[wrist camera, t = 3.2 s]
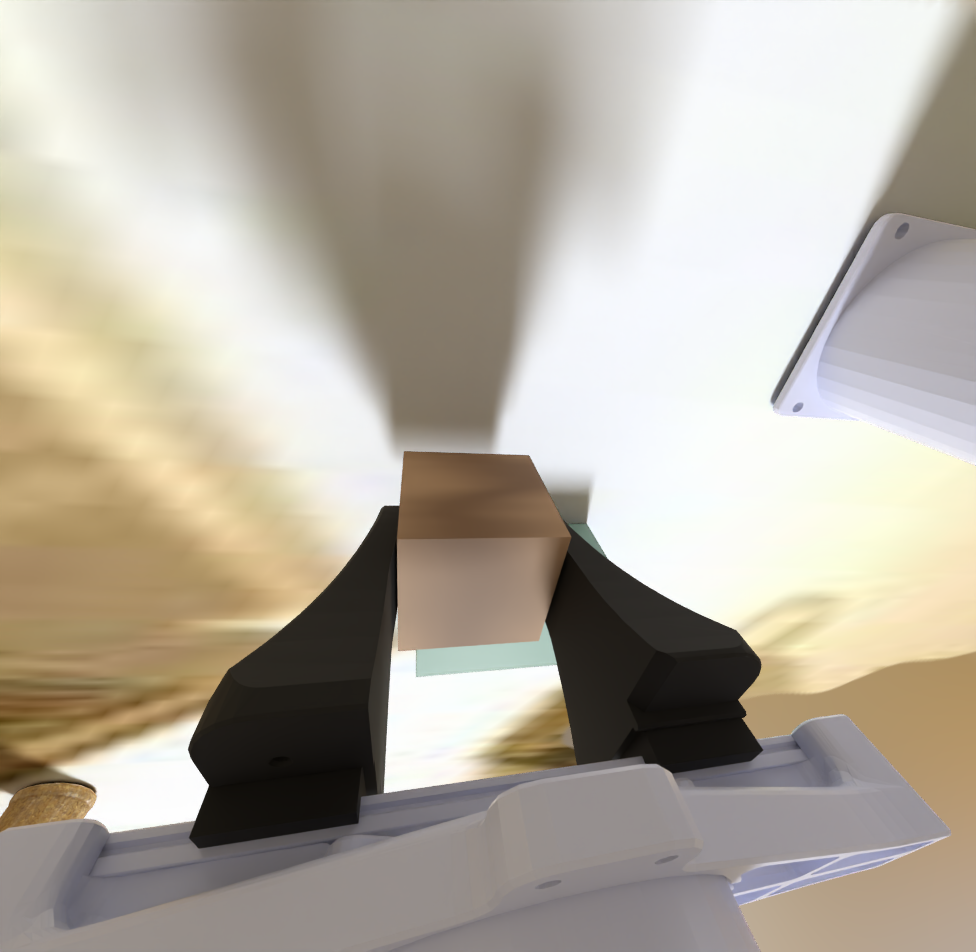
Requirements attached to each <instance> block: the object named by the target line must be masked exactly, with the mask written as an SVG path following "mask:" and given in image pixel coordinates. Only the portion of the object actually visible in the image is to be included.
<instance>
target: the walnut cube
mask: <svg viewBox="0 0 976 952" xmlns="http://www.w3.org/2000/svg"><path fill="white" fill-rule="evenodd" d="M570 540H571V535H570V533H569V531H568V529H567V528H566V526H565V524H564V522H563V520H562V518H561V516H560V514H559V512H558V510H557V508H556V506H555V504H554V502H553V501H552V499H551V497H550V495H549V493H548V491H547V489H546V487H545V485H544V483H543V481H542V479H541V477H540V475H539V474H538V472H537V470H536V468H535V466H534V464H533V462H532V460H531V458H530V456H529V455H502V454H472V453H441V452H411V451H404V458H403V470H402V483H401V495H400V508H399V520H398V533H397V583H398V651H407V650H421V649H435V648H449V647H463V646H477V645H491V644H505V643H519V642H532V641H539V639H540V636H541V632H542V629H543V626H544V623H545V620H546V616H547V613H548V610H549V607H550V604H551V601H552V597H553V594H554V591H555V588H556V585H557V581H558V578H559V575H560V572H561V569H562V566H563V562H564V559H565V556H566V553H567V550H568V546H569V543H570Z"/></svg>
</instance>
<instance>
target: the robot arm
mask: <svg viewBox="0 0 976 952" xmlns="http://www.w3.org/2000/svg"><path fill="white" fill-rule="evenodd" d="M896 230H897V231H896ZM773 411H774V412H775V413H776V414H778V415H781V416H788V417H804V418H821V419H837V420H853V421H864V422H866V423H869V424H871V425H874V426H876V427H879V428H881V429H884V430H886V431H889V432H892V433H894V434H897V435H899V436H902V437H904V438H907V439H909V440H912V441H914V442H917V443H920V444H922V445H925V446H927V447H930V448H932V449H935V450H937V451H940V452H942V453H945V454H947V455H950V456H953V457H955V458H958V459H960V460H963V461H965V462H968V463H970V464H973V465H975V466H976V229H973V228H968V227H963V226H959V225H954V224H949V223H945V222H940V221H935V220H931V219H926V218H921V217H917V216H912V215H907V214H903V213H891V214H885V215H884V216H882V217H880V218H879V219H878V220H877V221H876V222H875V224H874V225H873V226H872V228H871V230H870V232H869V233H868V235H867V237H866V239H865V241H864V242H863V244H862V246H861V248H860V250H859V251H858V253H857V255H856V257H855V259H854V260H853V262H852V264H851V266H850V268H849V270H848V271H847V273H846V275H845V277H844V279H843V280H842V282H841V284H840V286H839V288H838V289H837V291H836V293H835V295H834V297H833V298H832V300H831V302H830V304H829V306H828V308H827V309H826V311H825V313H824V315H823V317H822V318H821V320H820V322H819V324H818V326H817V327H816V329H815V331H814V333H813V335H812V336H811V338H810V340H809V342H808V344H807V345H806V347H805V349H804V351H803V353H802V355H801V356H800V358H799V360H798V362H797V364H796V365H795V367H794V369H793V371H792V373H791V374H790V376H789V378H788V380H787V382H786V383H785V385H784V387H783V389H782V391H781V393H780V394H779V396H778V398H777V400H776V402H775V404H774V406H773ZM399 508H400V506H384V507H382V508H381V510H380V513H379V515H378V517H377V519H376V521H375V523H374V525H373V526H372V528H371V530H370V531H369V533H368V535H367V536H366V538H365V539H364V541H363V542H362V544H361V545H360V547H359V548H358V550H357V551H356V552H355V554H354V555H353V556H352V558H351V559H350V560H349V562H348V563H347V564H346V566H345V567H344V568H343V569H342V571H341V572H340V573H339V574H338V575H337V577H336V578H335V579H334V580H333V581H332V582H331V583H330V584H329V585H328V587H327V588H326V589H325V590H324V591H323V592H322V593H321V594H320V595H319V596H318V597H317V598H316V599H315V600H314V601H313V602H312V603H311V604H310V605H309V606H308V607H307V608H306V609H305V610H304V611H302V612H301V613H300V614H299V615H298V616H297V617H296V618H294V619H293V620H292V621H291V622H290V623H289V624H287V625H286V626H285V627H284V628H283V629H282V630H280V631H279V632H278V633H277V634H276V635H274V636H273V637H272V638H271V639H269V640H268V641H267V642H266V643H264V644H263V645H262V646H260V647H259V648H258V649H256V650H255V651H253V652H252V653H251V654H249V655H248V656H247V657H245V658H244V659H243V660H241V661H240V662H238V663H237V664H236V665H234V666H233V667H231V668H230V669H229V670H228V671H227V673H226V674H225V676H224V677H223V679H222V681H221V682H220V684H219V685H218V687H217V689H216V690H215V692H214V694H213V695H212V697H211V699H210V700H209V702H208V704H207V706H206V708H205V710H204V712H203V715H202V717H201V719H200V721H199V723H198V726H197V728H196V730H195V732H194V734H193V737H192V739H191V741H190V744H189V747H188V751H189V754H190V757H191V759H192V761H193V762H194V764H195V765H196V767H197V768H198V770H199V771H200V773H201V774H202V776H203V777H204V779H205V780H206V781H207V783H208V784H209V787H208V790H207V793H206V795H205V798H204V800H203V803H202V805H201V808H200V810H199V813H198V816H197V818H196V821H191V822H184V823H177V824H170V825H164V826H157V827H150V828H143V829H136V830H129V831H122V832H115V833H109V832H108V830H107V828H106V827H105V825H103V824H102V823H101V822H98V821H96V820H91V819H70V820H63V821H55V822H48V823H41V824H33V825H26V826H19V827H11V828H7V829H6V830H4V831H2V832H0V952H761V951H760V949H759V947H758V945H757V943H756V941H755V939H754V937H753V935H752V933H751V930H750V928H749V927H748V924H747V922H746V920H745V918H744V916H743V914H742V912H741V910H740V908H739V905H743V904H746V903H750V902H753V901H757V900H760V899H764V898H767V897H770V896H774V895H777V894H781V893H784V892H787V891H791V890H795V889H798V888H801V887H805V886H809V885H812V884H815V883H819V882H823V881H826V880H830V879H834V878H837V877H841V876H845V875H849V874H853V873H857V872H861V871H864V870H868V869H872V868H876V867H879V866H881V865H883V864H886V863H888V862H890V861H893V860H895V859H897V858H900V857H902V856H904V855H907V854H909V853H911V852H913V851H916V850H918V849H920V848H923V847H925V846H927V845H930V844H932V843H934V842H937V841H939V840H941V839H944V838H946V837H948V836H951V830H950V829H949V828H948V827H947V825H946V824H945V823H944V822H943V821H942V820H941V819H940V818H939V817H938V815H937V814H936V813H935V812H934V811H933V810H932V809H931V808H930V807H929V806H928V805H927V803H926V802H925V801H924V800H923V799H922V798H921V797H920V796H919V795H918V793H917V792H916V791H915V790H914V789H913V788H912V787H911V786H910V785H909V784H908V782H907V781H906V780H905V779H904V778H903V777H902V776H901V775H900V774H899V772H898V771H896V769H895V768H894V767H893V766H892V765H891V764H890V763H889V761H888V760H887V759H886V758H885V757H884V756H883V755H882V754H881V753H880V752H879V750H878V749H877V748H876V747H875V746H874V745H873V744H872V743H871V742H870V741H869V740H868V738H867V737H866V736H865V735H864V734H863V733H862V732H861V731H860V729H858V727H857V726H856V725H855V724H854V723H853V722H852V721H851V720H850V718H849V717H848V716H846V715H843V714H840V715H832V716H825V717H818V718H813V719H809V720H807V721H804V722H803V723H801V724H800V725H798V726H797V727H796V728H795V729H794V730H793V731H792V734H790V735H783V736H777V737H770V738H763V739H755V737H754V736H753V734H752V733H751V731H750V730H749V728H748V727H747V725H746V724H745V722H744V721H743V719H742V718H744V717H745V716H746V711H745V709H744V708H743V707H742V705H741V704H740V702H739V701H738V699H739V698H740V697H741V696H742V695H743V694H744V692H745V691H746V690H747V689H748V688H749V687H750V686H751V685H752V684H753V682H754V681H755V680H756V678H757V677H758V676H759V673H760V670H761V661H760V659H759V657H758V656H757V655H756V654H755V652H754V651H753V650H752V649H751V648H750V646H749V645H748V644H747V643H746V641H745V640H744V639H743V638H742V637H741V635H740V634H739V633H738V632H737V631H736V630H734V629H732V628H729V627H727V626H725V625H723V624H720V623H718V622H716V621H713V620H711V619H709V618H706V617H704V616H702V615H700V614H698V613H695V612H693V611H691V610H689V609H687V608H685V607H683V606H681V605H679V604H677V603H676V602H674V601H672V600H670V599H668V598H666V597H665V596H663V595H661V594H659V593H658V592H656V591H654V590H653V589H651V588H649V587H648V586H646V585H644V584H643V583H641V582H639V581H638V580H636V579H635V578H633V577H632V576H630V575H629V574H628V573H626V572H625V571H623V570H622V569H620V568H619V567H618V566H616V565H615V564H613V563H612V562H611V561H610V560H608V559H607V558H606V557H605V556H603V555H602V554H601V553H600V552H598V551H597V550H596V549H595V548H594V547H592V546H591V545H590V544H589V543H588V542H587V541H585V540H584V539H583V538H582V537H581V536H580V535H579V534H578V533H577V532H575V531H574V530H573V529H572V528H571V527H570V526H569V525H568V524H567V523H566V522H565V521H564V520H563V519H562V520H563V522H564V524H565V526H566V528H567V529H568V531H569V533H570V535H571V540H570V543H569V546H568V550H567V553H566V556H565V559H564V562H563V566H562V569H561V572H560V575H559V578H558V581H557V585H556V588H555V591H554V594H553V597H552V601H551V604H550V607H549V610H548V613H547V616H546V620H545V623H546V626H547V629H548V632H549V635H550V638H551V642H552V646H553V650H554V654H555V658H556V662H557V666H558V671H559V675H560V680H561V684H562V689H563V693H564V698H565V703H566V708H567V713H568V718H569V723H570V728H571V733H572V739H573V745H574V750H575V756H576V762H577V766H570V767H563V768H556V769H549V770H542V771H535V772H529V773H522V774H515V775H508V776H501V777H494V778H487V779H480V780H473V781H467V782H460V783H453V784H446V785H439V786H432V787H425V788H418V789H411V790H405V791H398V792H391V793H384V774H385V754H386V735H387V717H388V699H389V681H390V664H391V650H392V641H393V633H394V627H395V620H396V614H397V607H398V583H397V533H398V520H399Z"/></svg>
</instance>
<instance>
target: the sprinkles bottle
mask: <svg viewBox="0 0 976 952" xmlns="http://www.w3.org/2000/svg"><path fill="white" fill-rule="evenodd" d="M96 797H97V796H96V794H95V793H94V792H93V791H92V790H91V789H89V788H87V787H84V786H82V785H78V784H73V783H49V784H40V785H34V786H30V787H27V788H24V789H22V790H20V791H18V792H17V793H16V794H15V795H14V796H13V797H12V799H11V800H10V802H9V806H8V808H7V809H6V810H5V812H4V813H3V814H2V816H1V817H0V832H2V831H4V830H6V829H7V828H11V827H19V826H26V825H33V824H41V823H48V822H55V821H63V820H70V819H83V818H84V817H85V815H86V813H87V812H88V811H89V810H90V809H91V808H92V807H93V805H94V803H95V801H96Z"/></svg>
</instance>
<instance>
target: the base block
mask: <svg viewBox="0 0 976 952" xmlns="http://www.w3.org/2000/svg"><path fill="white" fill-rule="evenodd" d="M568 525H569V526H570V527H571V528H572V529H573V530H574V531H575V532H577V533H578V534H579V535H580V536H581V537H582V538H583V539H584V540H585V541H587V542H588V543H589V544H590V545H591V546H592V547H594V548H595V549H596V550H597V551H598V552H600V553H601V554H602V555H603V556H605V557H606V555H605V554H604V552H603V550H602V549H601V547H600V545H599V544H598V542H597V540H596V539H595V537H594V535H593V534H592V532H591V530H590V529H589V527H588V525H587V524H568ZM606 558H607V557H606ZM549 665H557V662H556V658H555V654H554V650H553V646H552V642H551V638H550V635H549V632H548V629H547V626H546V623H544V626H543V629H542V632H541V636H540V639H539V641H532V642H519V643H505V644H491V645H477V646H463V647H449V648H435V649H421V650H416V677H421V676H433V675H444V674H456V673H468V672H479V671H491V670H503V669H514V668H526V667H538V666H549Z"/></svg>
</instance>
